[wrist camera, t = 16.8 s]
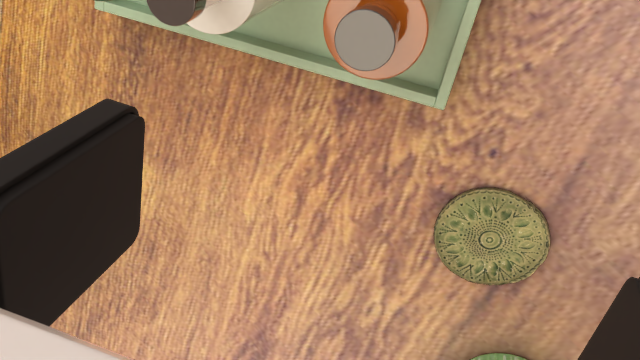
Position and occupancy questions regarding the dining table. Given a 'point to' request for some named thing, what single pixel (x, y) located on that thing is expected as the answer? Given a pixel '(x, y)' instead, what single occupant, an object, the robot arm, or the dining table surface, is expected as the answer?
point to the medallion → (491, 236)
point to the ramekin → (498, 357)
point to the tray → (313, 54)
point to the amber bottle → (378, 34)
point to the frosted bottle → (209, 13)
